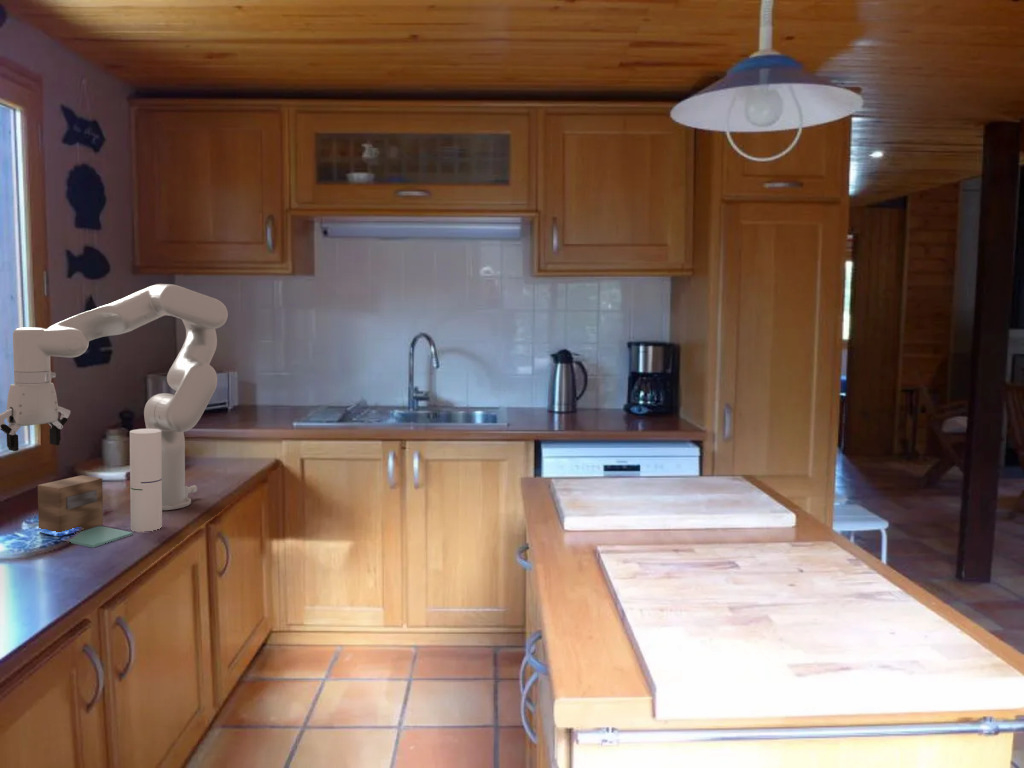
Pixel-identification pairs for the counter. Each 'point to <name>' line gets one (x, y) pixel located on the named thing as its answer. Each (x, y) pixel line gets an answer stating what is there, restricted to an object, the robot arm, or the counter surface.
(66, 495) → the walnut housing
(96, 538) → the teal pad
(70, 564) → the counter surface
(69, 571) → the counter surface
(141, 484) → the cylindrical container
